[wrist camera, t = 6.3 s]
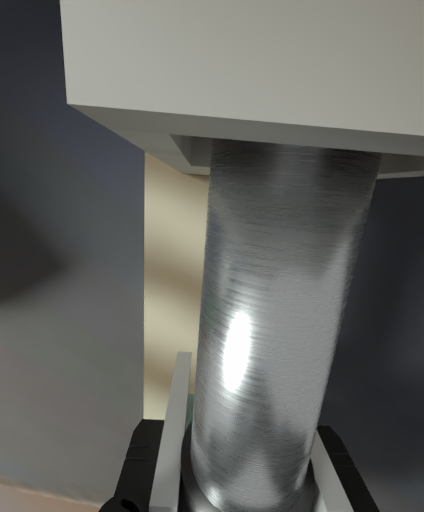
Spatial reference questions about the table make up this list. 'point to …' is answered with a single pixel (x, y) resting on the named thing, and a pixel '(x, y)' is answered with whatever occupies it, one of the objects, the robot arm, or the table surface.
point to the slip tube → (270, 318)
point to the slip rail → (235, 115)
